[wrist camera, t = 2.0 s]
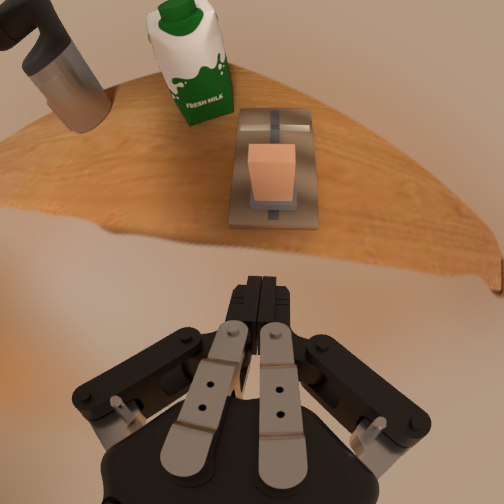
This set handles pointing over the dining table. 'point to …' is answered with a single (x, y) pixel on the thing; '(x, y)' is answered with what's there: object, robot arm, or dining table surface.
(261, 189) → the fader
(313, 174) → the console
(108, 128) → the dining table surface
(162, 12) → the milk carton
